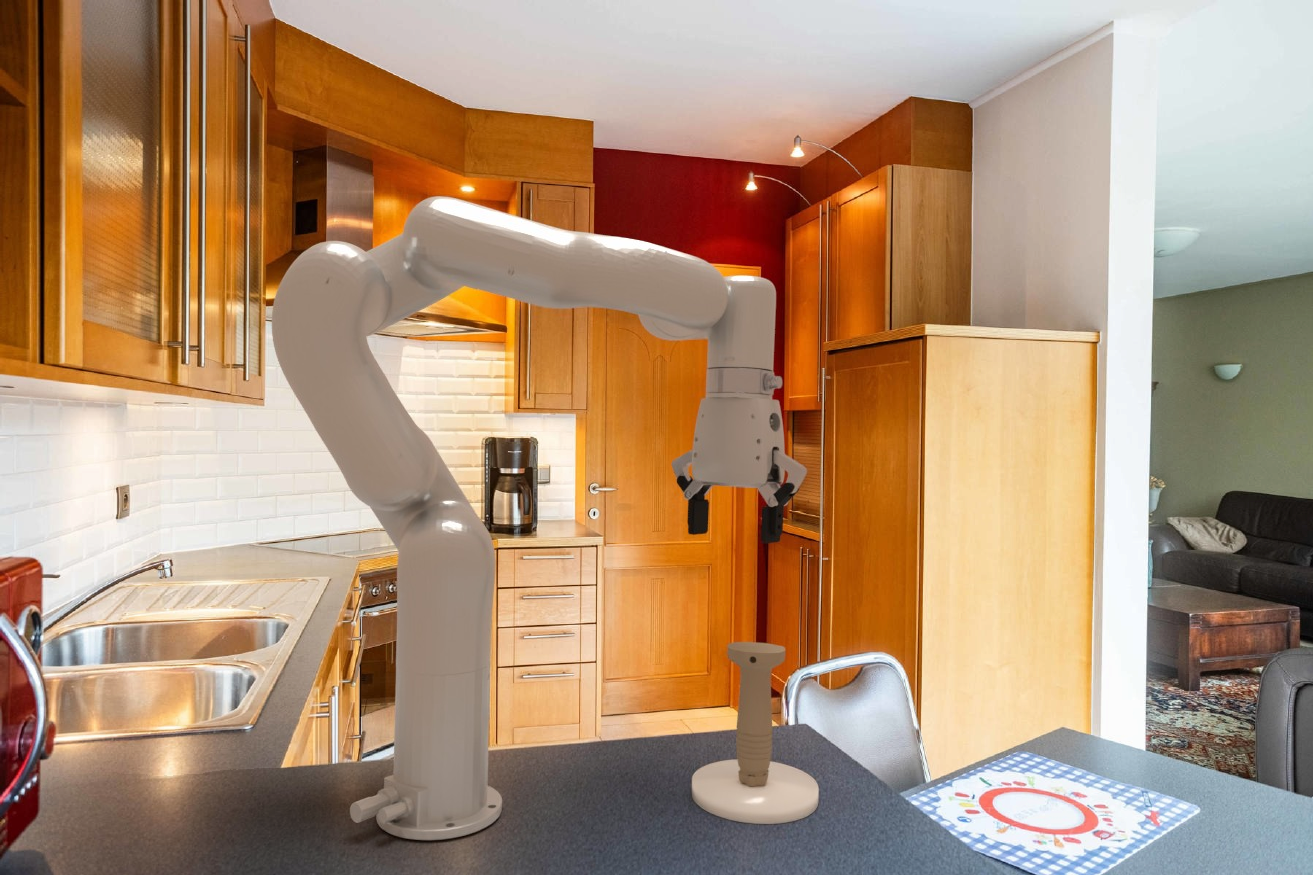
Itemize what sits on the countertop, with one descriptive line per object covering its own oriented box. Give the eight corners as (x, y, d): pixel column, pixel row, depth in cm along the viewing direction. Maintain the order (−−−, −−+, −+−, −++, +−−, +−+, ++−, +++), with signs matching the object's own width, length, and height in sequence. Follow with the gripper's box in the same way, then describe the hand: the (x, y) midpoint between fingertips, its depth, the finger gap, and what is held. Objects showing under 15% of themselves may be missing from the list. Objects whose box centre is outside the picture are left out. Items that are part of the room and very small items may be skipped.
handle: (779, 794, 92) (782, 654, 92) (720, 786, 94) (723, 649, 94) (784, 777, 97) (787, 644, 97) (728, 770, 98) (731, 640, 98)
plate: (780, 836, 85) (781, 821, 85) (666, 799, 94) (667, 785, 94) (839, 792, 97) (839, 779, 97) (732, 762, 105) (733, 750, 105)
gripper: (823, 389, 95) (817, 543, 95) (695, 390, 105) (689, 529, 105) (791, 383, 89) (784, 548, 89) (658, 385, 99) (652, 532, 99)
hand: (733, 537), depth 97 cm, fingers open, 9 cm apart
